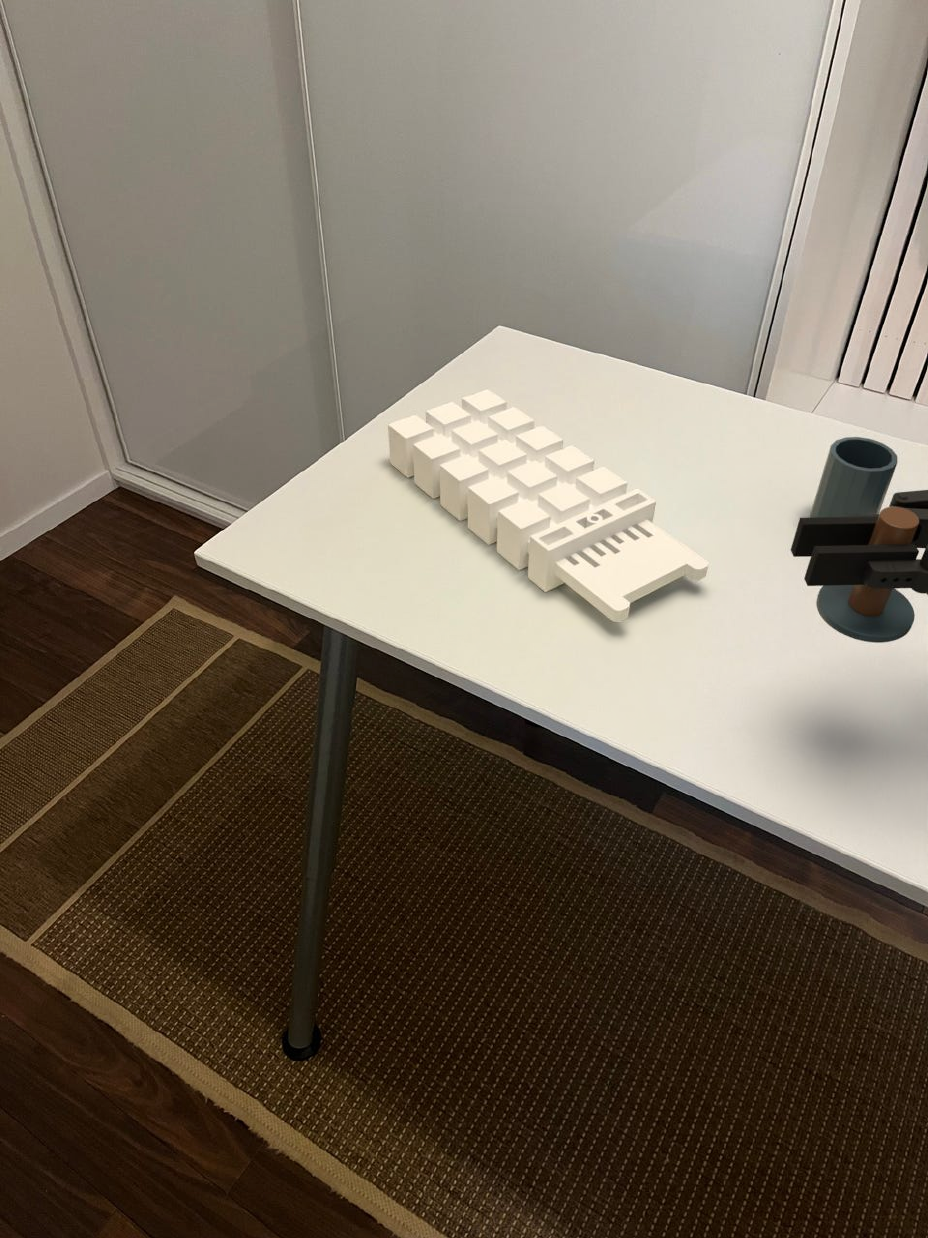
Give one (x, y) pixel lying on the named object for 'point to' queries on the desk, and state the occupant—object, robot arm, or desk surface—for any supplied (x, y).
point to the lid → (873, 591)
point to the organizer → (541, 502)
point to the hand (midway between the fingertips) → (804, 551)
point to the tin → (854, 478)
